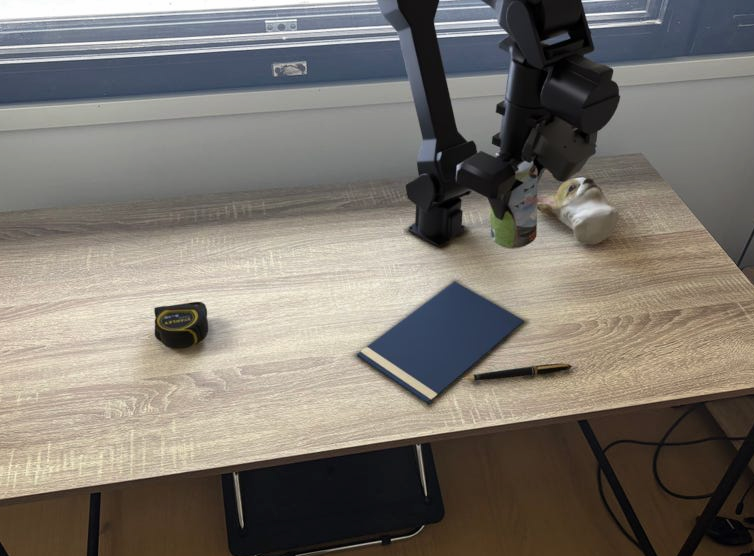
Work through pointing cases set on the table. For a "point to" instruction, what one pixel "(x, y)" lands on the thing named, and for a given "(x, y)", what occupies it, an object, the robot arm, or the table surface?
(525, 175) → the beverage can
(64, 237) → the table surface
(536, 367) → the fountain pen
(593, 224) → the ceramic sculpture
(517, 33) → the robot arm
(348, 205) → the table surface
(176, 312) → the tape measure
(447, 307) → the blue hardcover notebook
